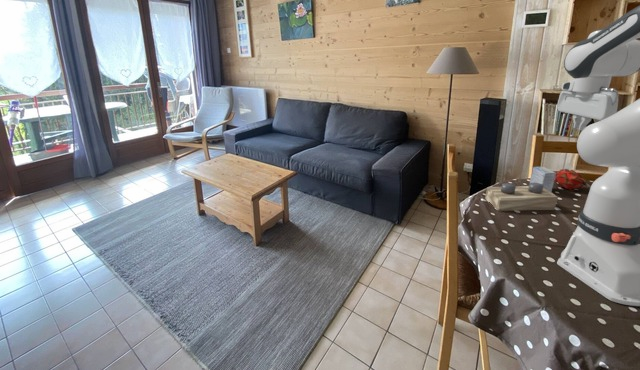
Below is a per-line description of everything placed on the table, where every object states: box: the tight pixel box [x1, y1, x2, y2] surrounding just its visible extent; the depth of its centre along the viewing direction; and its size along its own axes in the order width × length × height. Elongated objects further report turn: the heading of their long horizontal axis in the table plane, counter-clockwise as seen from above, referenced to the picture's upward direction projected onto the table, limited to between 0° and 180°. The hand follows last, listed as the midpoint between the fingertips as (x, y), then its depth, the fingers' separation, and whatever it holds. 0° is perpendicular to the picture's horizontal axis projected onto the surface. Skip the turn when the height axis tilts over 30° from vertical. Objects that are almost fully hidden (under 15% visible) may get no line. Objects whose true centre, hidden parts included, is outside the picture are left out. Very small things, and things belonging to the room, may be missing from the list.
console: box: [484, 185, 559, 212], centre depth 118 cm, size 10×20×5 cm, turn 90°
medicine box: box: [529, 166, 557, 193], centre depth 129 cm, size 8×4×9 cm, turn 179°
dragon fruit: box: [554, 168, 588, 192], centre depth 130 cm, size 8×8×12 cm
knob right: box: [528, 182, 544, 193], centre depth 117 cm, size 4×4×7 cm
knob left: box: [500, 182, 516, 194], centre depth 118 cm, size 4×4×7 cm
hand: (578, 129), depth 106 cm, fingers closed
